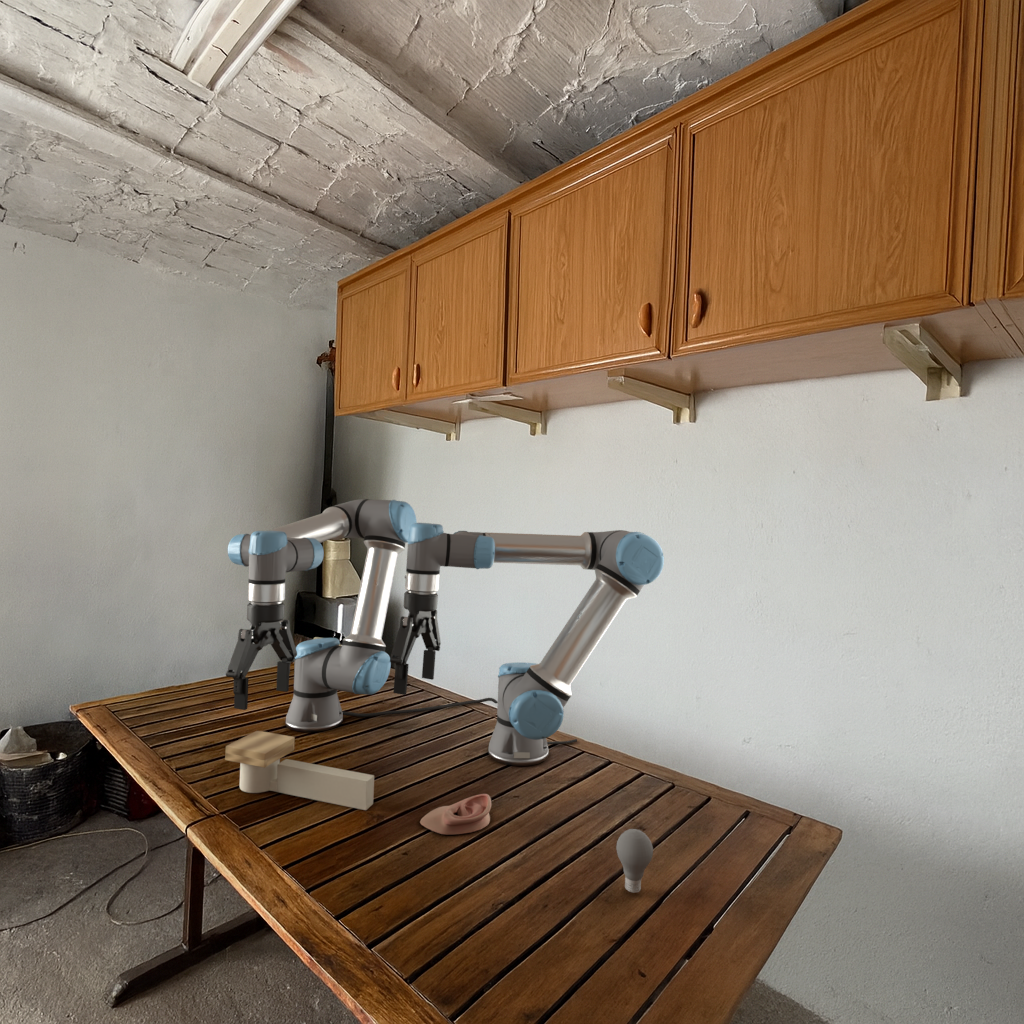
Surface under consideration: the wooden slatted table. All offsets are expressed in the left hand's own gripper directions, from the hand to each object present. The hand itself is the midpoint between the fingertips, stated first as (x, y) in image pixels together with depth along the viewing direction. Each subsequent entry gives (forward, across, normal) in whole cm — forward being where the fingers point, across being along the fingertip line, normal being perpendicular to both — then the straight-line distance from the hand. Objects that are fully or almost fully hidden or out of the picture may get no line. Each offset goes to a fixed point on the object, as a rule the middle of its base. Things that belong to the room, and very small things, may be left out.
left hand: (262, 699), depth 138 cm
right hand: (-3, -14, +30) cm, 33 cm away
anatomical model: (+19, -1, +46) cm, 49 cm away
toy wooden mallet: (+19, 0, +12) cm, 22 cm away
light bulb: (+19, +9, +82) cm, 84 cm away
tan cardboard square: (+12, 0, 0) cm, 12 cm away
